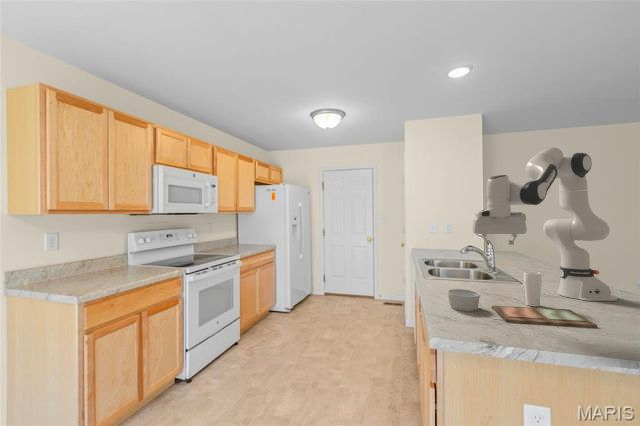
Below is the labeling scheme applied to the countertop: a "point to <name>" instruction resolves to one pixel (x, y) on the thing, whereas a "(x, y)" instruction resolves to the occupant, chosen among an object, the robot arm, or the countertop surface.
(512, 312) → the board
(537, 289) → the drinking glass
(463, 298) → the ramekin
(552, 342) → the countertop surface
